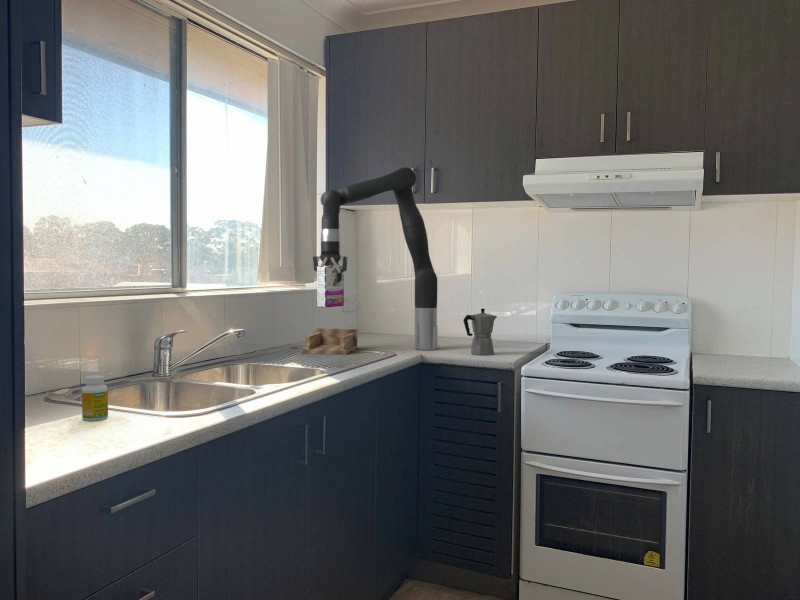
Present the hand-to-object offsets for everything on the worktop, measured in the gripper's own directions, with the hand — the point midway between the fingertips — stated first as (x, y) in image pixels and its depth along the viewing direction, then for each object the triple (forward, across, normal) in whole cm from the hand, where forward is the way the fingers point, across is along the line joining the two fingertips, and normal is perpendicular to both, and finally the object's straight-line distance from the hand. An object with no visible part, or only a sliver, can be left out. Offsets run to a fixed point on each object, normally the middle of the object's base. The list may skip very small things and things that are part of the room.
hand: (330, 282), depth 269 cm
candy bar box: (+10, 0, 0) cm, 10 cm away
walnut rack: (+28, 0, 0) cm, 28 cm away
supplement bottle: (+28, +21, +123) cm, 128 cm away
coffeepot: (+28, -60, -3) cm, 66 cm away
